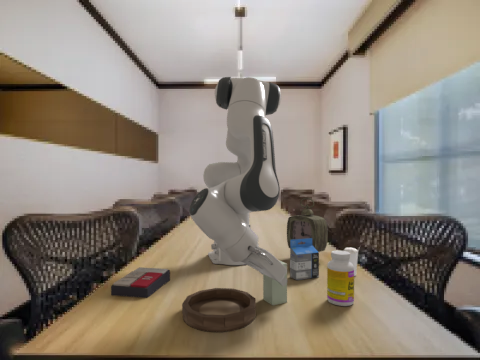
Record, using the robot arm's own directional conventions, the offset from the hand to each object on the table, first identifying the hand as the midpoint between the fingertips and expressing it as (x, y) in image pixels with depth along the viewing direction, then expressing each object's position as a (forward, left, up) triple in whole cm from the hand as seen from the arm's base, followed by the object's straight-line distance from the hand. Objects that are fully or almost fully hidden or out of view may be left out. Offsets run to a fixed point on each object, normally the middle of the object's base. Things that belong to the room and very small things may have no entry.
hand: (274, 277), depth 77 cm
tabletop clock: (-29, +34, -6) cm, 45 cm away
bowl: (+1, -16, -6) cm, 17 cm away
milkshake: (-7, +35, -6) cm, 37 cm away
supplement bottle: (+8, +15, -6) cm, 18 cm away
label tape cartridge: (-12, +19, -6) cm, 24 cm away
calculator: (-26, -30, -7) cm, 40 cm away
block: (0, 0, -6) cm, 6 cm away
